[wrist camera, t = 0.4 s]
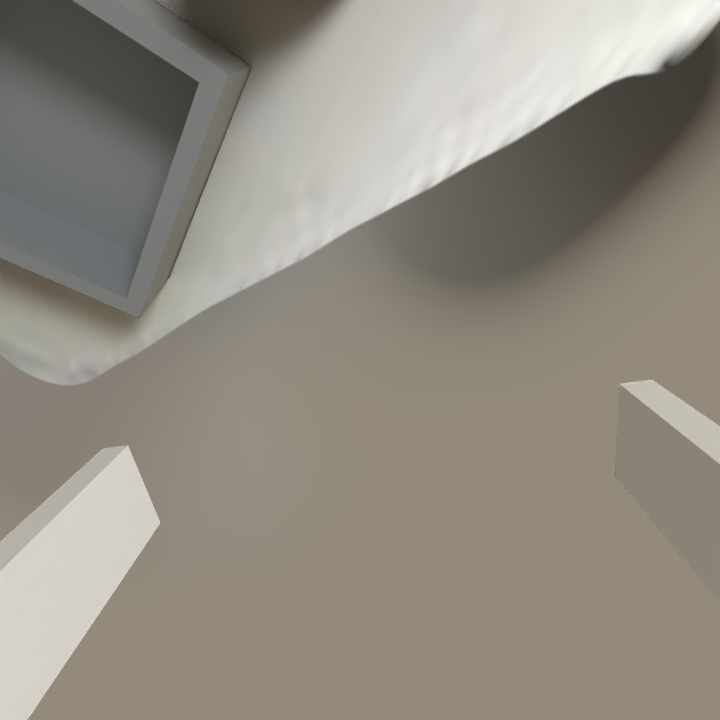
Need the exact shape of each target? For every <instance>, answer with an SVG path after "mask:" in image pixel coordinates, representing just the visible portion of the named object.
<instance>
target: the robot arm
mask: <svg viewBox="0 0 720 720" xmlns="http://www.w3.org/2000/svg"><path fill="white" fill-rule="evenodd" d="M614 476H615V477H616V478H617V479H618V481H619V482H620V483H621V484H622V485H623V487H624V488H625V489H626V490H627V492H628V493H629V494H630V495H631V497H632V498H633V499H634V500H635V501H636V502H637V504H638V505H639V506H640V507H641V509H642V510H643V511H644V512H645V513H646V515H647V516H648V517H649V518H650V520H651V521H652V522H653V523H654V524H655V526H656V527H657V528H658V529H659V530H660V531H661V533H662V534H663V535H664V537H665V538H666V539H667V540H668V541H669V543H670V544H671V545H672V546H673V547H674V549H675V550H676V551H677V552H678V553H679V555H680V556H681V557H682V558H683V559H684V561H685V562H686V563H687V564H688V566H689V567H690V568H691V569H692V570H693V572H694V573H695V574H696V575H697V577H698V578H699V579H700V580H701V581H702V583H703V584H704V585H705V586H706V587H707V588H708V590H709V591H710V592H711V593H712V595H713V596H714V597H715V598H716V600H717V601H718V602H719V603H720V426H719V425H717V424H715V423H714V422H713V421H711V420H710V419H708V418H707V417H705V416H704V415H702V414H701V413H700V412H698V411H697V410H695V409H694V408H692V407H691V406H689V405H688V404H687V403H685V402H684V401H682V400H681V399H679V398H678V397H676V396H675V395H673V394H672V393H671V392H669V391H667V390H666V389H665V388H663V387H662V386H660V385H659V384H657V383H656V382H655V381H653V380H646V381H638V382H630V383H623V384H619V399H618V419H617V437H616V457H615V475H614ZM159 524H160V521H159V518H158V516H157V514H156V511H155V509H154V507H153V504H152V502H151V499H150V497H149V495H148V492H147V490H146V487H145V485H144V483H143V480H142V478H141V476H140V473H139V471H138V468H137V466H136V464H135V461H134V459H133V457H132V454H131V452H130V449H129V447H128V446H119V447H112V448H104V449H102V450H101V451H99V452H98V453H97V454H96V455H95V456H94V457H93V458H92V459H91V460H90V461H88V463H86V464H85V465H84V466H83V467H82V468H81V469H80V470H79V471H77V473H75V474H74V475H73V476H72V477H71V478H70V479H69V480H68V481H66V483H64V484H63V485H62V486H61V487H60V488H59V489H58V490H57V491H55V492H54V493H53V494H52V495H51V496H50V497H49V498H48V499H47V500H46V501H44V502H43V503H42V504H41V505H40V506H39V507H38V508H37V509H36V510H35V511H33V512H32V513H31V514H30V515H29V516H28V517H27V518H26V519H25V520H24V521H22V522H21V523H20V524H19V525H18V526H17V527H16V528H15V529H14V530H13V531H11V532H10V533H9V534H8V535H7V536H6V537H5V538H4V539H3V540H2V541H0V720H27V719H28V718H29V717H30V715H31V714H32V712H33V711H34V709H35V708H36V706H37V705H38V703H39V701H40V700H41V699H42V697H43V696H44V694H45V693H46V691H47V690H48V688H49V687H50V685H51V684H52V682H53V681H54V680H55V678H56V677H57V675H58V673H59V672H60V670H61V669H62V668H63V666H64V665H65V663H66V662H67V660H68V659H69V657H70V656H71V654H72V653H73V651H74V650H75V648H76V647H77V645H78V644H79V642H80V641H81V640H82V638H83V637H84V635H85V634H86V632H87V631H88V629H89V628H90V626H91V625H92V623H93V622H94V620H95V619H96V617H97V616H98V614H99V613H100V611H101V610H102V608H103V607H104V606H105V604H106V603H107V601H108V600H109V598H110V596H111V595H112V594H113V592H114V591H115V589H116V588H117V586H118V585H119V583H120V582H121V580H122V579H123V577H124V576H125V575H126V573H127V572H128V570H129V569H130V567H131V566H132V564H133V563H134V561H135V559H136V558H137V557H138V555H139V554H140V552H141V551H142V549H143V548H144V546H145V545H146V543H147V542H148V540H149V539H150V538H151V536H152V534H153V533H154V532H155V530H156V529H157V527H158V526H159Z"/></svg>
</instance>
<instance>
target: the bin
mask: <svg viewBox="0 0 720 720" xmlns="http://www.w3.org/2000/svg"><path fill="white" fill-rule="evenodd" d="M251 68H252V67H251V66H250V65H249V64H247V63H246V62H244V61H243V60H241V59H240V58H238V57H237V56H235V55H234V54H233V53H231V52H230V51H228V50H227V49H225V48H224V47H222V46H221V45H219V44H218V43H217V42H215V41H214V40H212V39H211V38H209V37H208V36H206V35H205V34H204V33H202V32H201V31H199V30H198V29H196V28H195V27H193V26H192V25H190V24H189V23H188V22H186V21H185V20H183V19H182V18H180V17H179V16H177V15H176V14H174V13H173V12H172V11H170V10H169V9H167V8H166V7H164V6H163V5H161V4H160V3H159V2H157V1H156V0H0V258H1V259H4V260H6V261H8V262H10V263H13V264H15V265H17V266H20V267H22V268H24V269H27V270H29V271H31V272H33V273H36V274H38V275H40V276H43V277H45V278H47V279H50V280H52V281H54V282H56V283H59V284H61V285H63V286H66V287H68V288H70V289H73V290H75V291H77V292H79V293H82V294H84V295H86V296H89V297H91V298H93V299H96V300H98V301H100V302H102V303H105V304H107V305H109V306H112V307H114V308H116V309H119V310H121V311H123V312H125V313H128V314H130V315H132V316H135V317H137V318H139V317H140V316H141V315H142V313H143V312H144V310H145V309H146V308H147V306H148V305H149V304H150V302H151V301H152V300H153V298H154V297H155V296H156V294H157V293H158V292H159V290H160V289H161V288H162V286H163V285H164V284H165V282H166V281H167V280H168V278H169V277H170V275H171V272H172V270H173V267H174V265H175V262H176V259H177V257H178V254H179V252H180V249H181V247H182V244H183V242H184V239H185V236H186V234H187V231H188V229H189V226H190V224H191V221H192V219H193V216H194V213H195V211H196V208H197V206H198V203H199V201H200V198H201V196H202V193H203V190H204V188H205V185H206V183H207V180H208V178H209V175H210V173H211V170H212V167H213V165H214V162H215V160H216V157H217V155H218V152H219V150H220V147H221V144H222V142H223V139H224V137H225V134H226V132H227V129H228V127H229V124H230V121H231V119H232V116H233V114H234V111H235V109H236V106H237V104H238V101H239V98H240V96H241V93H242V91H243V88H244V86H245V83H246V81H247V78H248V75H249V73H250V70H251Z"/></svg>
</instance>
